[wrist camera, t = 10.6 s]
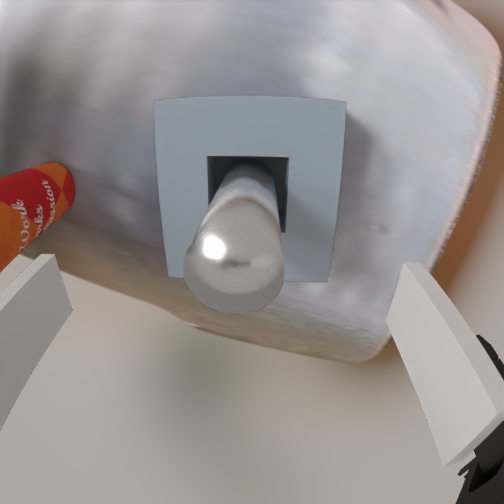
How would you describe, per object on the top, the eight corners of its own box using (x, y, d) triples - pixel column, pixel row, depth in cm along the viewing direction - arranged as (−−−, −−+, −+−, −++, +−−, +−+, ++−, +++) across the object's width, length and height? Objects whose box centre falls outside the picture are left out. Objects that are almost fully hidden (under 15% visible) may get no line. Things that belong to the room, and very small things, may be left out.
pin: (225, 205, 25) (187, 311, 13) (224, 158, 23) (177, 225, 11) (273, 206, 25) (281, 315, 13) (275, 159, 23) (287, 228, 11)
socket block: (181, 252, 29) (168, 277, 25) (172, 100, 22) (153, 100, 18) (319, 255, 28) (327, 282, 24) (332, 101, 22) (346, 101, 18)
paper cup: (68, 235, 28) (-14, 313, 16) (23, 196, 26) (-66, 254, 14) (96, 177, 25) (-6, 242, 13) (45, 136, 23) (-63, 177, 11)
